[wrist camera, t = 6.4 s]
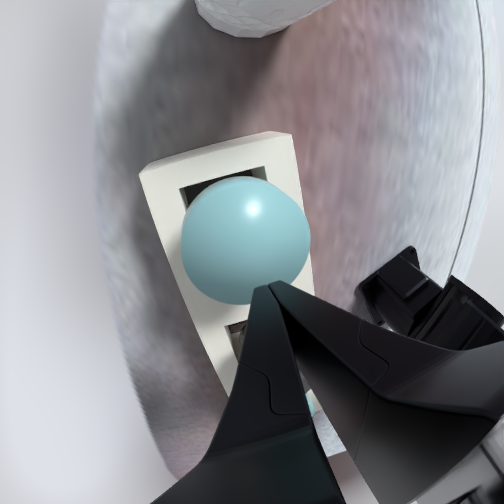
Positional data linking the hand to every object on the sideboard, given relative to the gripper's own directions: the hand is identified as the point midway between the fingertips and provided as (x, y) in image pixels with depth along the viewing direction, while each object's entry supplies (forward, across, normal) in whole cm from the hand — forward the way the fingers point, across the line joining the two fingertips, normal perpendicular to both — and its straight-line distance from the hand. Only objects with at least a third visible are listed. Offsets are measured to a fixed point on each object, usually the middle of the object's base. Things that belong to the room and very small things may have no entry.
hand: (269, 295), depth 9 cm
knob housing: (+11, 0, +9) cm, 14 cm away
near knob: (+8, 0, 0) cm, 8 cm away
